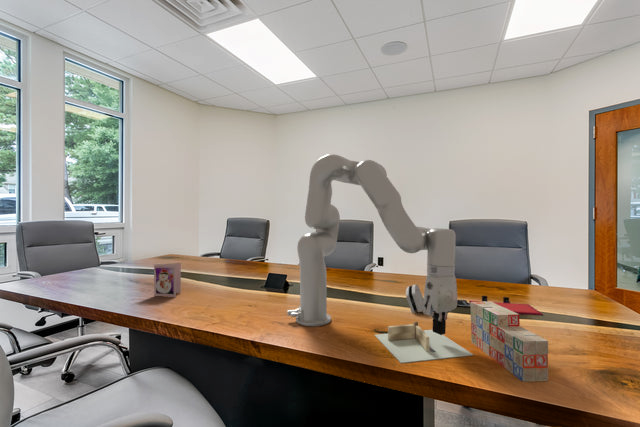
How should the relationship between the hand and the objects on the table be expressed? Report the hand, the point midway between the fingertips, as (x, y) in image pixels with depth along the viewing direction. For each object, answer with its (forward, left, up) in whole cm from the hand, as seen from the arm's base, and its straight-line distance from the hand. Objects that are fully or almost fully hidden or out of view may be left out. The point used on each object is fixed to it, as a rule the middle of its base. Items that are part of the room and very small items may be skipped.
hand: (438, 332), depth 87 cm
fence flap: (-6, -1, -2) cm, 6 cm away
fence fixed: (-9, +5, -3) cm, 11 cm away
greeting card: (-95, +75, -3) cm, 121 cm away
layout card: (-6, +1, -3) cm, 7 cm away
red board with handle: (+42, +27, -4) cm, 50 cm away
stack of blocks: (+11, -12, -4) cm, 17 cm away
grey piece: (+11, +33, -4) cm, 35 cm away
